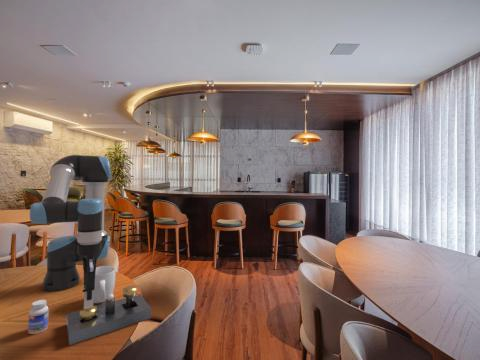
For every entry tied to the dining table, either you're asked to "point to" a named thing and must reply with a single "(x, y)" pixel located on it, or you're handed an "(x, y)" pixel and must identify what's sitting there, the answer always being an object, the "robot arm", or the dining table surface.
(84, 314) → the near knob
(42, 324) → the pill bottle
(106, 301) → the pot post
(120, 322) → the mount plate
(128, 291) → the far knob
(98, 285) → the mug
